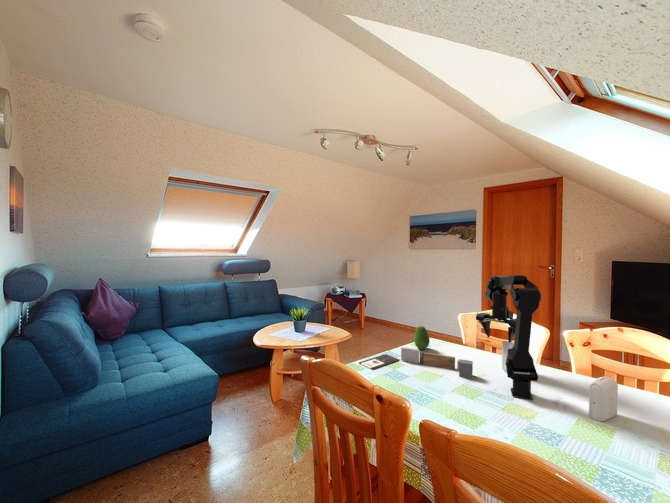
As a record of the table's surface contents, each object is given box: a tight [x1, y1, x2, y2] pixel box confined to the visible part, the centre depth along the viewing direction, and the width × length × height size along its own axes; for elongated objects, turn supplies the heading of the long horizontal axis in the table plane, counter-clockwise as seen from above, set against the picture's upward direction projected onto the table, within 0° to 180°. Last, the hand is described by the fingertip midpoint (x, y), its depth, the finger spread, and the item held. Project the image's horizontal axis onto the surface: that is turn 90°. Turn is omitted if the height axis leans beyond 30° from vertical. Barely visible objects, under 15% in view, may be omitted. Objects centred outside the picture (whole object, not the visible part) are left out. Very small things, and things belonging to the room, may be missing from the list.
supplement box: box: [501, 340, 529, 374], centre depth 132 cm, size 7×7×13 cm
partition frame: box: [400, 346, 460, 371], centre depth 140 cm, size 2×26×6 cm, turn 66°
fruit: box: [413, 325, 430, 350], centre depth 161 cm, size 8×8×12 cm
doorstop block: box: [458, 359, 474, 380], centre depth 128 cm, size 4×5×6 cm
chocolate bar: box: [358, 353, 401, 371], centre depth 143 cm, size 9×1×18 cm
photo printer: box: [588, 376, 619, 422], centre depth 99 cm, size 10×4×12 cm, turn 116°
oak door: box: [419, 350, 456, 370], centre depth 139 cm, size 2×15×5 cm, turn 66°
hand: (499, 339), depth 134 cm, fingers open, 9 cm apart
